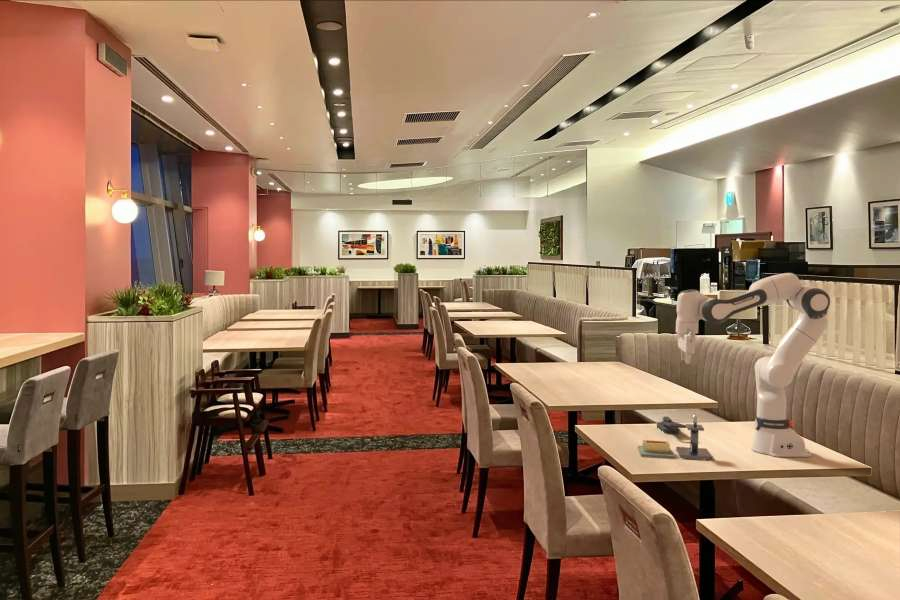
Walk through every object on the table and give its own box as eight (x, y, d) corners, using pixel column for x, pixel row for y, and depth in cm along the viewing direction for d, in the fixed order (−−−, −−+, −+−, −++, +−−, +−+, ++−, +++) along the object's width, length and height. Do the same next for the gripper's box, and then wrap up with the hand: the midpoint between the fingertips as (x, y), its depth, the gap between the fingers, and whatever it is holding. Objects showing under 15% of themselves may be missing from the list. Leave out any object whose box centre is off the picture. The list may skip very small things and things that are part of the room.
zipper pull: (668, 425, 301) (655, 412, 326) (667, 440, 302) (655, 426, 327) (689, 425, 301) (674, 413, 325) (688, 440, 301) (674, 426, 326)
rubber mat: (669, 449, 286) (669, 447, 286) (674, 458, 273) (674, 456, 273) (637, 447, 288) (637, 445, 288) (641, 456, 275) (641, 454, 275)
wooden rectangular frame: (667, 449, 282) (667, 441, 282) (669, 453, 277) (669, 444, 277) (642, 448, 284) (642, 439, 283) (643, 451, 279) (644, 443, 278)
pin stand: (706, 452, 283) (707, 412, 282) (712, 460, 271) (713, 419, 270) (676, 450, 285) (677, 411, 284) (680, 458, 273) (682, 417, 272)
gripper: (699, 331, 272) (698, 365, 273) (690, 326, 293) (689, 358, 293) (683, 330, 273) (682, 365, 274) (675, 326, 294) (674, 358, 294)
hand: (685, 361), depth 284 cm, fingers open, 8 cm apart
